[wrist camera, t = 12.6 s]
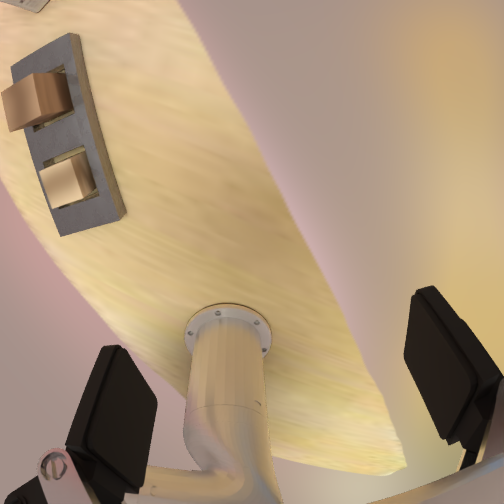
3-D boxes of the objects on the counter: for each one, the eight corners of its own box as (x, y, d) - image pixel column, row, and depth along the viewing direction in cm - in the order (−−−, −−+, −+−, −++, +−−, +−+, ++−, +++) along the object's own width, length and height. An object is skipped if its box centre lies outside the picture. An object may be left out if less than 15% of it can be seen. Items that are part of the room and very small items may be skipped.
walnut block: (69, 73, 28) (32, 73, 21) (77, 108, 31) (41, 115, 23) (40, 88, 29) (1, 92, 22) (48, 121, 31) (9, 132, 24)
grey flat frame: (126, 212, 37) (119, 220, 35) (69, 228, 37) (60, 236, 35) (79, 35, 26) (69, 32, 24) (21, 66, 27) (10, 66, 25)
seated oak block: (100, 184, 35) (83, 198, 31) (70, 194, 35) (52, 208, 31) (89, 149, 33) (70, 158, 29) (59, 160, 33) (38, 171, 29)
